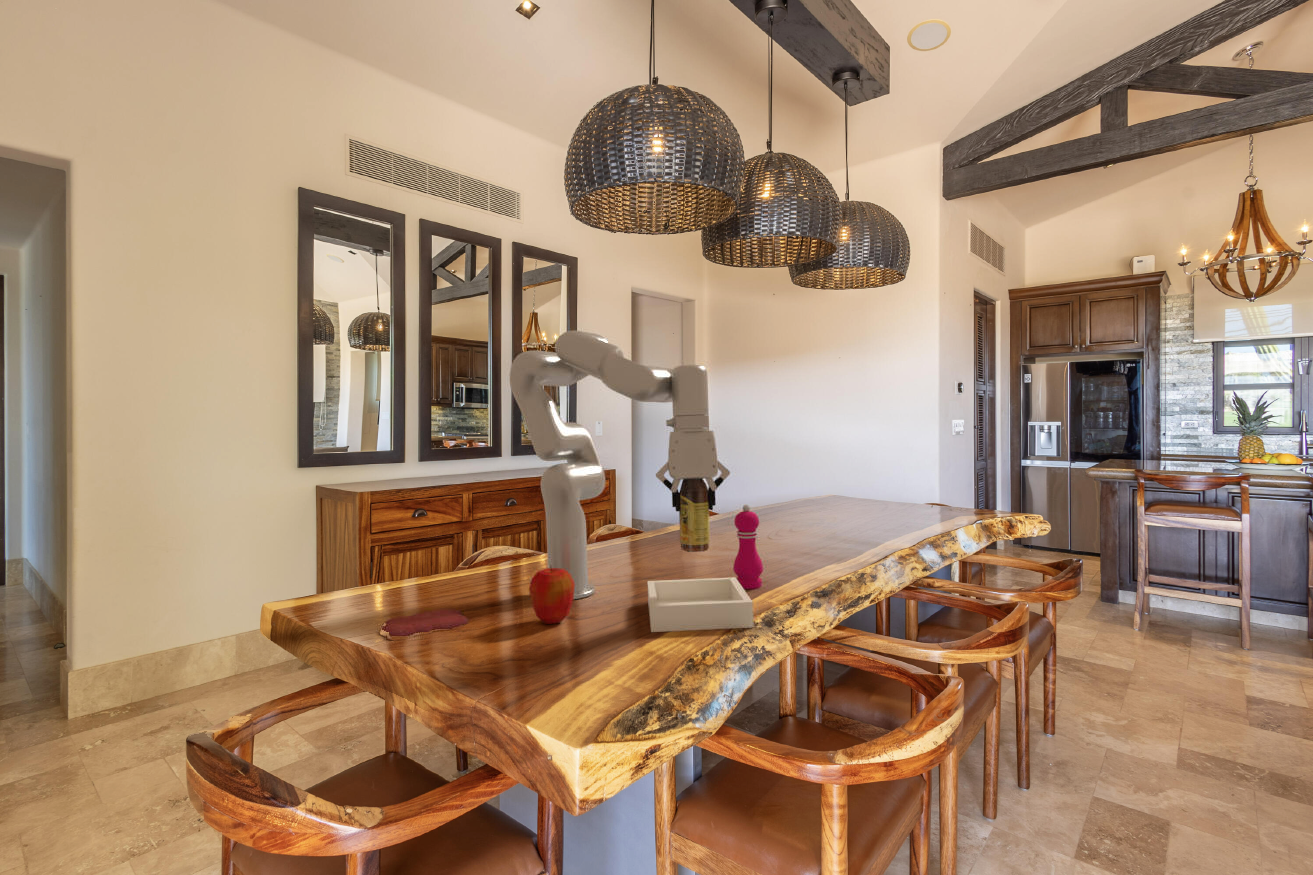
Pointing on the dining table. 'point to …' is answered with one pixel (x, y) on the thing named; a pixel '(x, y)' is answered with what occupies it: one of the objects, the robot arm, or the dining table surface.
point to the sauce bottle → (694, 515)
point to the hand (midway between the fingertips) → (694, 509)
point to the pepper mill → (747, 550)
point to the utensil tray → (698, 604)
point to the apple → (552, 594)
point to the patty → (425, 622)
